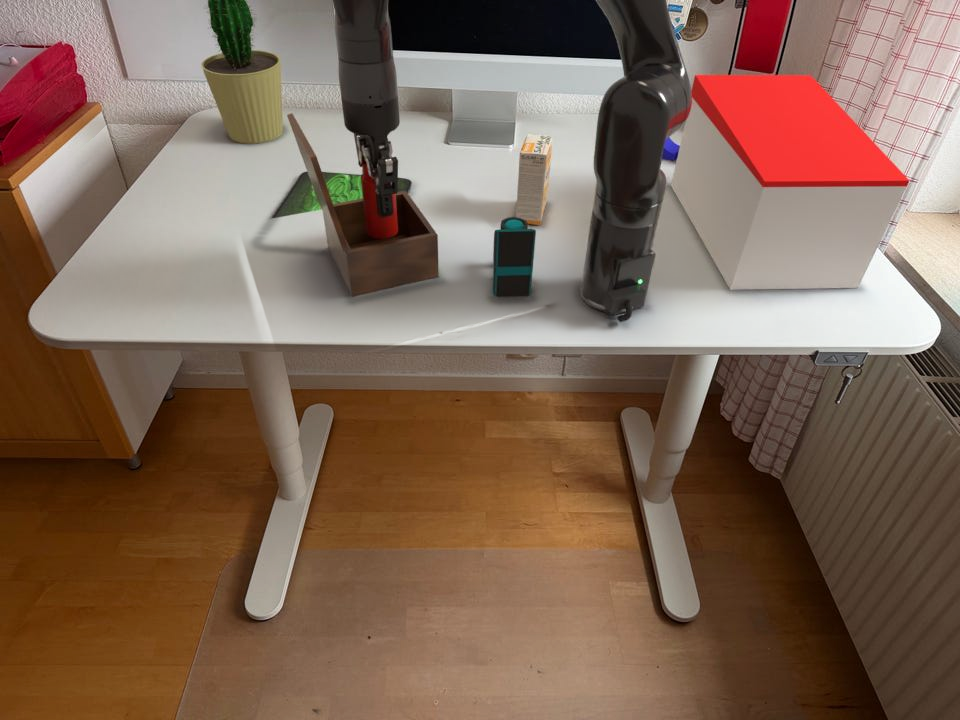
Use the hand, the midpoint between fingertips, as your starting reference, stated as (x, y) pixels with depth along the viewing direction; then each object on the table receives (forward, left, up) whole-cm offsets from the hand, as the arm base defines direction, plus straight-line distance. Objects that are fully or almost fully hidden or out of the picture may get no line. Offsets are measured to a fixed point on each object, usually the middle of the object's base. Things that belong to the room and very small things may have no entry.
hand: (380, 206), depth 100 cm
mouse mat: (+20, +2, -11) cm, 23 cm away
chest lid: (0, +8, +5) cm, 10 cm away
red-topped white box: (-13, -63, -11) cm, 66 cm away
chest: (0, 0, -11) cm, 11 cm away
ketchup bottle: (0, 0, -4) cm, 4 cm away
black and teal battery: (-11, -17, -11) cm, 23 cm away
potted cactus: (+60, +10, -11) cm, 62 cm away
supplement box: (+7, -30, -11) cm, 32 cm away
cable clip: (+17, -69, -11) cm, 72 cm away
